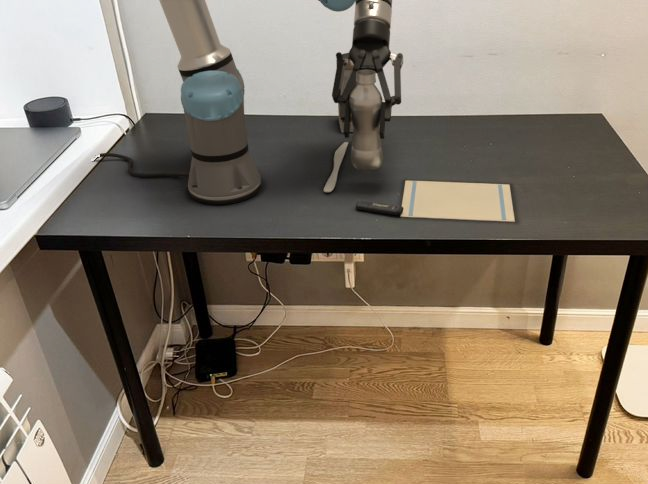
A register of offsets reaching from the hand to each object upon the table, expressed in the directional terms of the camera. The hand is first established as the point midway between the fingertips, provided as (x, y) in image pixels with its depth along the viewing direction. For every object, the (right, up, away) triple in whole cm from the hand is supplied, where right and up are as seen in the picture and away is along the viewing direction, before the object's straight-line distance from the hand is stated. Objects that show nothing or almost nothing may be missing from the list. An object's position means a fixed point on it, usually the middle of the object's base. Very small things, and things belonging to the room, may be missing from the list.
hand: (363, 135), depth 127 cm
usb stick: (+3, -15, +2) cm, 15 cm away
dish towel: (+19, -12, +5) cm, 23 cm away
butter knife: (-6, -3, +19) cm, 21 cm away
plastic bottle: (+1, -5, +8) cm, 10 cm away
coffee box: (-3, +11, +40) cm, 42 cm away
